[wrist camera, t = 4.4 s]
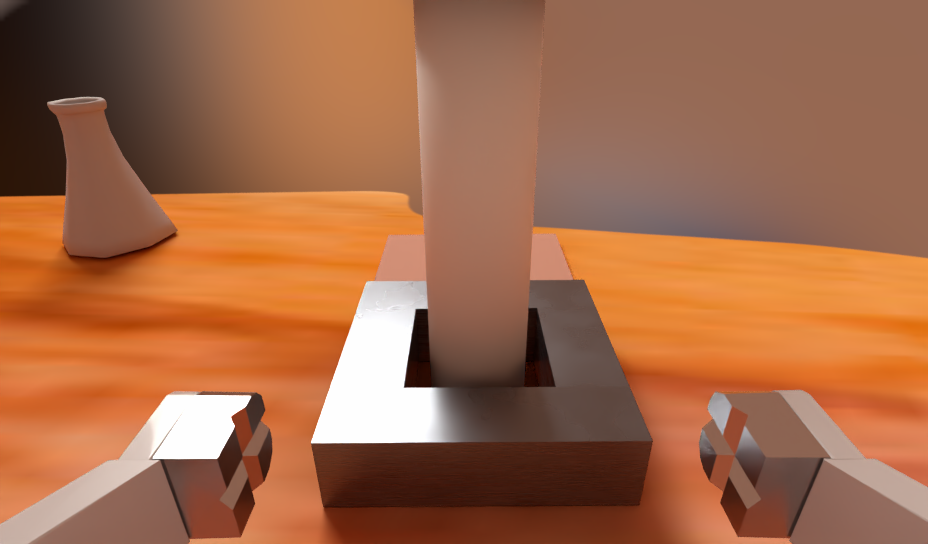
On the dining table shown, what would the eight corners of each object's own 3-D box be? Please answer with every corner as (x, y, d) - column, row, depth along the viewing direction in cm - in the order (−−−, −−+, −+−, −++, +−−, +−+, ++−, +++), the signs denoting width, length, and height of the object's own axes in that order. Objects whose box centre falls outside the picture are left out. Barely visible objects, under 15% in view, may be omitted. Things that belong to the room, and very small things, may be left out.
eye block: (323, 506, 18) (311, 443, 17) (371, 330, 28) (366, 281, 27) (639, 505, 18) (652, 441, 17) (578, 329, 28) (583, 279, 27)
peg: (396, 456, 20) (348, -71, 13) (411, 356, 26) (384, -50, 18) (562, 455, 20) (616, -74, 13) (540, 355, 26) (569, -52, 18)
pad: (372, 298, 31) (371, 289, 31) (389, 242, 38) (388, 235, 38) (575, 296, 31) (576, 287, 31) (554, 241, 38) (555, 233, 38)
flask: (196, 232, 41) (161, 96, 36) (100, 269, 35) (43, 115, 30) (140, 216, 44) (101, 89, 39) (43, 248, 38) (-16, 105, 34)
